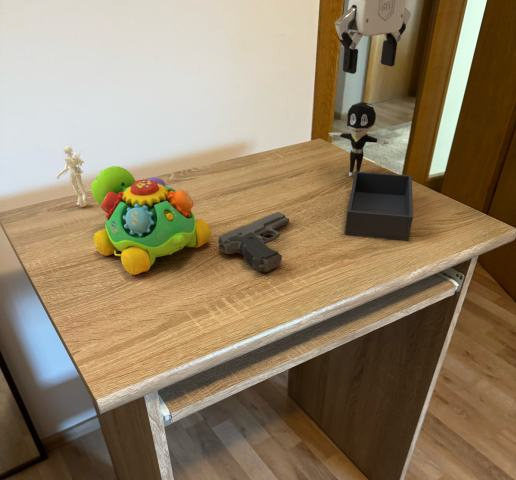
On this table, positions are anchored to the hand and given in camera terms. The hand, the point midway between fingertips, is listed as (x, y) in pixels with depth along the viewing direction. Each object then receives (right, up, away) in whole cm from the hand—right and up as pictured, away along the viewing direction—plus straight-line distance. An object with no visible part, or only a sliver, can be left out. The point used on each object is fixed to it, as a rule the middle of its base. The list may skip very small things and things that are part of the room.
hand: (368, 68), depth 94 cm
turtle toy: (-41, -35, -7) cm, 55 cm away
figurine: (-57, -26, +4) cm, 63 cm away
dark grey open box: (+2, -28, 0) cm, 28 cm away
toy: (0, -16, +14) cm, 21 cm away
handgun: (-19, -36, -8) cm, 42 cm away
